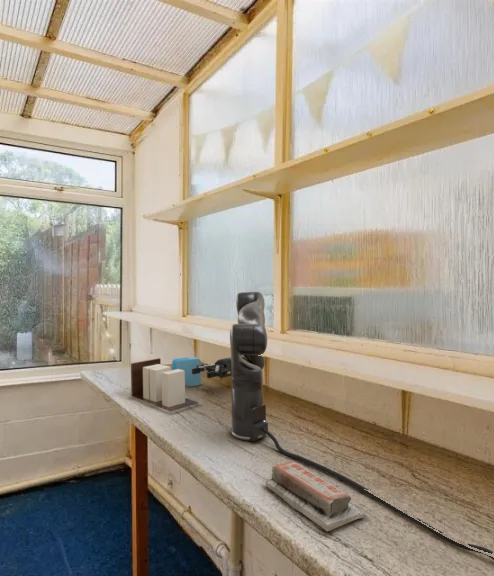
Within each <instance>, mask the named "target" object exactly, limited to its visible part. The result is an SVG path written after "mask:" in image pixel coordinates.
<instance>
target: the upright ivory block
mask: <svg viewBox="0 0 494 576" xmlns="http://www.w3.org/2000/svg"><path fill="white" fill-rule="evenodd" d="M185 398H186V385H185V371H184V370H180V369H176V370H172V369H171V371H167V372H162V405H164V406H166V407H172V406H175V405H179V404H182V403H185Z"/></svg>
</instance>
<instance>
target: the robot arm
mask: <svg viewBox="0 0 494 576" xmlns="http://www.w3.org/2000/svg"><path fill="white" fill-rule="evenodd" d="M235 306H236V312H237V323H234V324H232V325H231V327H230V330H229V346H230V356H229V357H224V358H220V359H217V360H216V361H215V362H214V363H212V364H209V363H203V364H202V363H201V365H197V366H196V368H193V369H192V374H198V373H201V374H204V375H206V378H207V379H212V378H220V379H225V378H228V377H230V383H231V385H230V386H231V388H230V389H231V391H230V392H231V394H230V396H231V398H230V399H231V436H233V437H234V438H235V439H238V440H242V441H248V442H253V443H254V442H256V441H259V440H260V439H263V438H265V437H267V436H268V437H269V438H270V439H271V441H273V443H274V446H275V447H276V449H277V450H278V452H280V453H281V454H283V455H285V456H287V457H288V458H292V459H295V460H298V461H301V462H303V463H305V464H308V465H310V466H312V467H314V468H316V469H319V470H320V471H323V472H325V473H327V474H330V475H331V476H333V477H335V478H337V479H339V480H341V481H342V482H345V483H347V484H348V485H351V486H352V487H354V488H356V489H358V490H359V491H361V492H362V493H364V494H366V495H368V496H369V497H371V498H372V499H374V500H376V501H378V502H379V503H381V504H382V505H384V506H386V507H387V508H390V509H391V510H393V511H394V512H396V513H398V514H399V515H401V516H403V517H404V518H406V519H408V520H410V522H411V521H412V522H413V523H415V524H417V525H418V526H420V527H422V528H423V529H425V530H427V531H428V532H430V533H432V534H434V535H435V536H437V537H439V538H441V539H442V540H444V541H445V542H448V543H450V544H452V545H453V546H456V547H458V548H460V549H463V550H466V551H468V552H469V551H470V552H473V553H477V554H482V555H485V556H487V557H489V558H490V559H491V560H493V561H494V558H493V557H491V556H488V555H486V554H483V553H481V552H478V551H475V550H473V549H470V548H468V547H466V546H464V545H462V544H459V543H457V542H455V541H453V540H451V539H449V538H447V537H445V536H443V535H442V534H440V533H444V532H443V531H441V530H440V529H438V528H436V527H434V526H433V525H431V526H430V524H429V523H428V522H425V521H424V522H423V520H422V519H420V518H419V517H417V519H418V520H419V521H421V520H422V522H423V523H425V524H427V525H428V524H429V527H432V528H433V527H434V528H433V529H435V528H436V530H437V529H438V531H439V532H440V533H438V532H436V531H434V530H433V529H431V528H429V527H427V526H426V525H424V524H422V523H421V522H419V521H417V520H415V519H414V518H412V517H410V516H408V515H407V514H405V513H403V512H402V511H400V510H398V509H396V508H395V507H393V506H391V505H390V504H388V503H386V502H385V501H383V500H381V499H380V498H378V497H376V496H374V495H373V494H371V493H369V492H368V491H366V490H369V488H367V487H365V486H363V485H361V484H360V483H358V482H356V481H354V480H353V479H350V478H348V477H347V476H344V475H343V474H341V473H339V472H337V471H335V470H333V469H330V468H329V467H327V466H324V465H322V464H320V463H318V462H315V461H313V460H310V459H308V458H305V457H304V456H301V455H300V454H299V455H298V454H296V453H291V452H289V451H287V450H285V449H283V447H281V445H280V443H279V441H278V440H277V438H276V437H275V436H274V435H273V433H271V432H270V431H269V423H268V422H267V408H266V407H267V404H266V403H264V389H263V387H264V386H263V385H264V384H263V383H264V382H263V381H264V380H263V378H264V377H263V376H264V373H263V372H264V371H263V369H264V368H265V365H266V359H265V356H264V357H262V356H258V355H261V354H263V355H264V353H265V352H266V351H267V348H268V334H267V329H266V316H265V298H264V295H263V293H262V292H260V291H244V292H243V291H242V292H238V293H237V295H236V299H235ZM364 489H366V490H364ZM468 545H469V546H471V547H474V548H477V549H479V550H483V551H484V552H488V553H491V554H492V553H493V552H494V551H492V550H491V549H489V548H486V547H484V546H481V545H476V544H473V543H468Z"/></svg>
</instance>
